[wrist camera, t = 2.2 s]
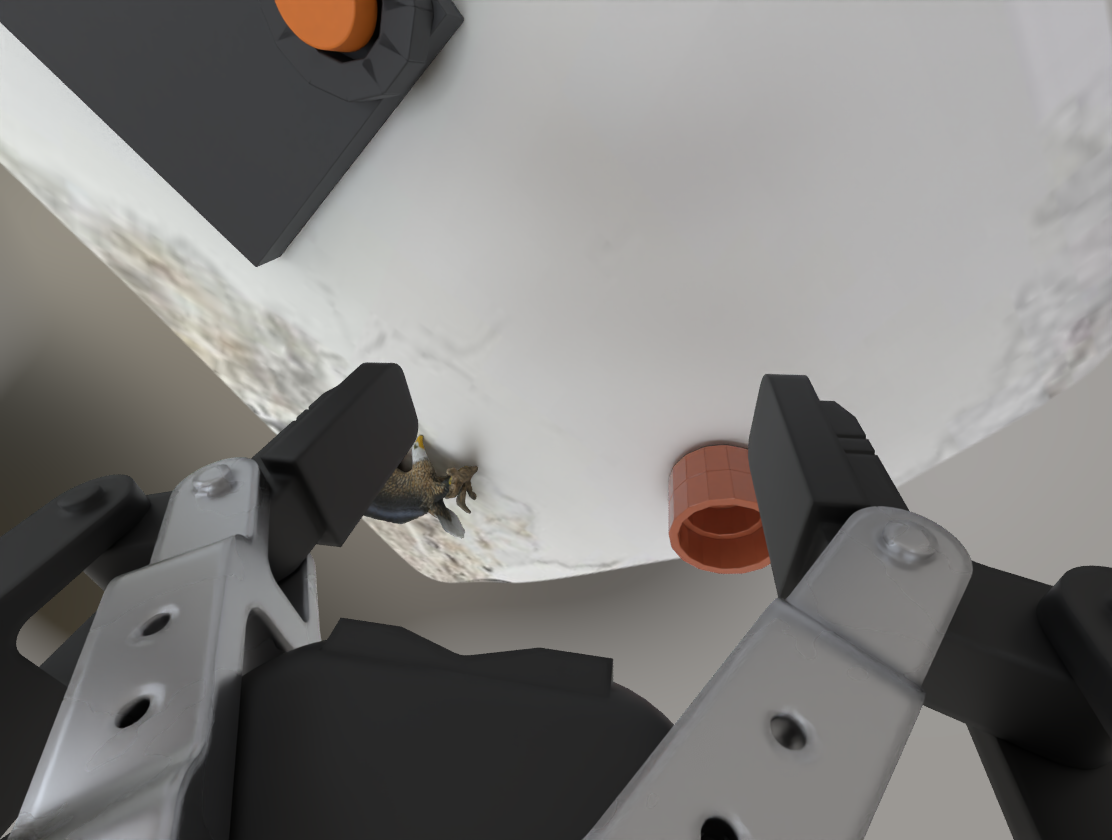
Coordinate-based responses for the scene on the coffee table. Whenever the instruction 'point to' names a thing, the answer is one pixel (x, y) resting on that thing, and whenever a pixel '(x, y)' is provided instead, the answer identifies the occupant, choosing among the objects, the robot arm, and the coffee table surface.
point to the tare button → (331, 22)
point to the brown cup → (716, 512)
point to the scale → (234, 96)
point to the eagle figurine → (423, 493)
